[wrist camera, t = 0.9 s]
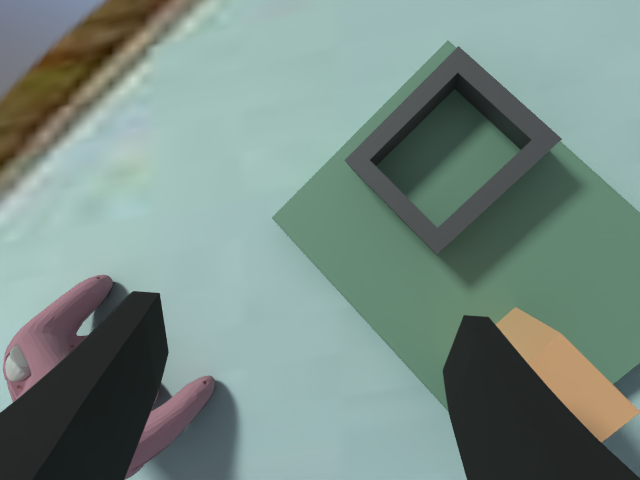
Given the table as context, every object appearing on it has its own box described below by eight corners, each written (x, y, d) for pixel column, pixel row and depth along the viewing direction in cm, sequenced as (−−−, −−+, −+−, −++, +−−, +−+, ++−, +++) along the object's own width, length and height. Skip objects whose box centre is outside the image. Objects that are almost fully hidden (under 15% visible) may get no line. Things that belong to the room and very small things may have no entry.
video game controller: (91, 311, 29) (-33, 374, 23) (105, 262, 26) (-29, 319, 20) (201, 422, 27) (97, 521, 21) (228, 381, 24) (119, 480, 19)
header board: (709, 289, 20) (763, 296, 17) (499, 460, 22) (512, 495, 18) (446, 51, 23) (450, 19, 20) (278, 219, 24) (257, 214, 21)
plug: (566, 358, 20) (640, 412, 13) (496, 415, 21) (533, 496, 14) (515, 306, 21) (561, 333, 14) (449, 364, 21) (461, 417, 14)
